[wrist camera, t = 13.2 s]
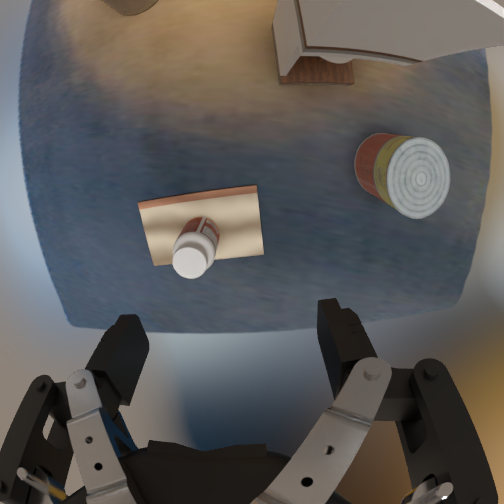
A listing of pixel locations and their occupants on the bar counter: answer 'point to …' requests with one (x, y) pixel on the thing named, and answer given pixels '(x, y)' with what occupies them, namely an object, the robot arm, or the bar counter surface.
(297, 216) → the bar counter surface
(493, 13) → the white square tower
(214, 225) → the pill bottle
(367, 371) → the robot arm
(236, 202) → the board
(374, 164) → the canned food
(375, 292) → the bar counter surface
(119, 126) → the bar counter surface
